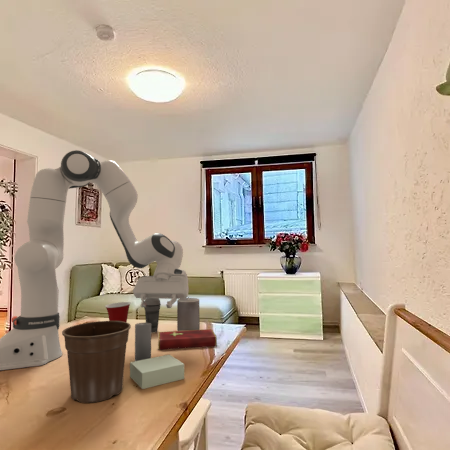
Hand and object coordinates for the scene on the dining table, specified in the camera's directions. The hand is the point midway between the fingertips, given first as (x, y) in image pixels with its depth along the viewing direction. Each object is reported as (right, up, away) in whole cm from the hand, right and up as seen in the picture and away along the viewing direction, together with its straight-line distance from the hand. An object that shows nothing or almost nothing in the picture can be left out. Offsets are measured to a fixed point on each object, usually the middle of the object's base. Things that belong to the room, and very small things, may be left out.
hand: (155, 306), depth 117 cm
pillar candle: (+8, -18, +27) cm, 34 cm away
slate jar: (-2, -15, -12) cm, 19 cm away
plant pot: (-8, -14, -33) cm, 37 cm away
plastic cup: (-23, -18, +29) cm, 41 cm away
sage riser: (+5, -14, -24) cm, 28 cm away
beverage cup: (-7, -18, +28) cm, 34 cm away
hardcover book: (+10, -17, +9) cm, 22 cm away
